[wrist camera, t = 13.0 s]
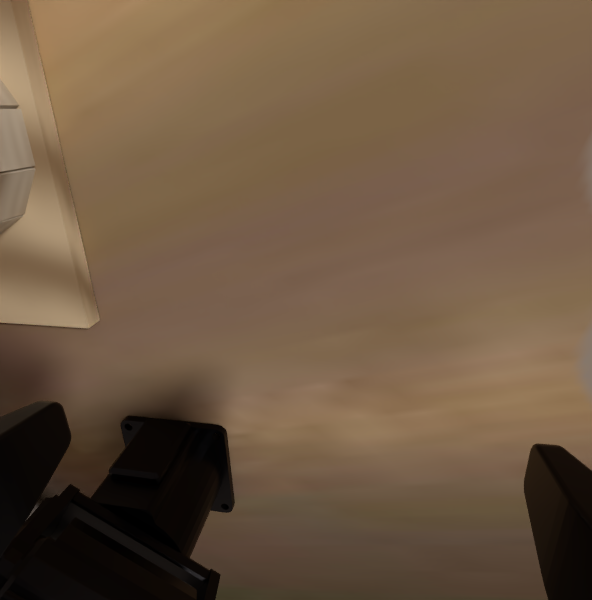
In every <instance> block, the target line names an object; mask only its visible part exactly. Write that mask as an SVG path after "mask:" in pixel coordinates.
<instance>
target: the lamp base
mask: <svg viewBox="0 0 592 600" xmlns="http://www.w3.org/2000/svg"><path fill="white" fill-rule="evenodd" d="M99 320H100V318H99V314H98V310H97V305H96V301H95V296H94V292H93V287H92V283H91V279H90V274H89V270H88V265H87V261H86V257H85V252H84V248H83V243H82V239H81V234H80V230H79V226H78V221H77V217H76V212H75V208H74V204H73V199H72V195H71V190H70V186H69V181H68V177H67V173H66V168H65V164H64V159H63V155H62V151H61V146H60V142H59V137H58V133H57V129H56V124H55V120H54V115H53V111H52V106H51V102H50V98H49V93H48V89H47V84H46V80H45V76H44V71H43V67H42V62H41V58H40V53H39V49H38V45H37V40H36V36H35V31H34V27H33V23H32V18H31V14H30V9H29V5H28V0H0V323H15V324H30V325H45V326H60V327H75V328H90V327H92V326H93V325H94V324H96V323H97V322H98V321H99Z"/></svg>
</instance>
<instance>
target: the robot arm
mask: <svg viewBox="0 0 592 600" xmlns="http://www.w3.org/2000/svg"><path fill="white" fill-rule="evenodd" d="M129 424H130V425H129ZM121 429H122V434H123V438H124V442H125V447H126V448H125V449H124V450H123V451H122V453H121V454H120V455H119V457H118V458H117V459H116V461H115V462H114V463H113V465H112V466H111V467H110V469H109V474H108V476H107V477H106V478H105V480H104V481H103V482H102V484H101V485H100V486H99V488H98V489H97V490H96V492H95V493H94V494H93V496H92V497H91V498H89V497H87V496H85V495H84V494H82V493H80V492H79V491H80V489H78V488H76V487H75V486H73V485H71V484H70V485H69V486H68V487H67V488H66V489H65V490H64V491H63V492H62V493H61V495H60V496H58V495H55V496H54V497H53V498H46V499H45V500H44V501H43V502H42V503H41V504H40V506H39V507H38V508H37V509H36V510H35V511H34V513H33V514H32V515H31V516H30V517H29V518H28V516H29V515H30V513H31V511H32V510H33V508H34V506H35V505H36V503H37V501H38V500H39V498H40V496H41V494H42V493H43V491H44V489H45V487H46V485H47V484H48V482H49V480H50V478H51V477H52V475H53V473H54V471H55V470H56V468H57V466H58V464H59V463H60V461H61V459H62V457H63V456H64V454H65V452H66V450H67V448H68V447H69V444H70V441H71V432H70V428H69V425H68V422H67V419H66V415H65V412H64V409H63V407H62V405H61V404H60V403H58V402H52V401H38V402H35V403H33V404H30V405H28V406H25V407H23V408H21V409H18V410H16V411H14V412H11V413H9V414H6V415H4V416H2V417H0V600H215V598H216V594H217V589H218V584H219V580H220V574H219V573H217V572H216V571H214V570H212V569H210V570H208V569H207V568H205V567H203V566H202V565H200V564H198V563H197V562H195V561H193V560H192V559H190V556H191V554H192V552H193V549H194V547H195V545H196V542H197V540H198V538H199V535H200V533H201V531H202V528H203V526H204V524H205V522H206V519H207V517H208V515H209V512H210V510H211V511H218V512H226V513H227V512H231V511H232V509H233V507H234V503H235V501H234V493H233V484H232V475H231V466H230V457H229V448H228V439H227V432H226V430H225V429H224V428H223V427H222V426H219V425H212V424H202V423H192V422H183V421H173V420H164V419H154V418H144V417H135V416H127V417H126V418H125V419H124V420H123V421H122V423H121ZM215 433H217V434H219V435H220V436H219V435H216V434H215ZM524 494H525V499H526V503H527V508H528V513H529V517H530V522H531V527H532V532H533V536H534V541H535V546H536V550H537V555H538V560H539V564H540V569H541V574H542V578H543V582H544V586H545V590H546V593H547V597H548V600H592V470H590V469H589V468H588V467H587V466H585V465H584V464H583V463H582V462H580V461H579V460H578V459H577V458H575V457H574V456H573V455H572V454H570V453H569V452H568V451H567V450H565V449H564V448H563V447H561V446H558V445H549V444H535V445H533V446H532V448H531V451H530V455H529V460H528V464H527V469H526V474H525V478H524ZM27 518H28V519H27ZM26 519H27V520H26ZM25 521H26V522H25ZM24 522H25V523H24Z"/></svg>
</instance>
